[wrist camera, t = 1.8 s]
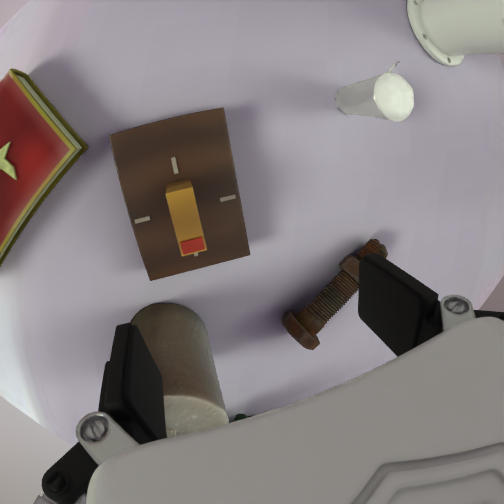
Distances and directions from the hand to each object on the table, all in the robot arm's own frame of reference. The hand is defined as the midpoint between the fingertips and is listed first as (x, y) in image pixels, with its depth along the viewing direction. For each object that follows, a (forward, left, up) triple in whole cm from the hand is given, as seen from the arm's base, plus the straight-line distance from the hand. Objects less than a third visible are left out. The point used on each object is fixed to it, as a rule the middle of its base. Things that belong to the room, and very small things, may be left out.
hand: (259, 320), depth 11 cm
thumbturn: (-1, -2, -16) cm, 17 cm away
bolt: (+13, +13, -20) cm, 27 cm away
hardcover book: (-9, -22, -20) cm, 31 cm away
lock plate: (-2, -2, -20) cm, 20 cm away
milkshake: (-9, +17, -20) cm, 27 cm away
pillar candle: (+14, -8, -20) cm, 25 cm away
